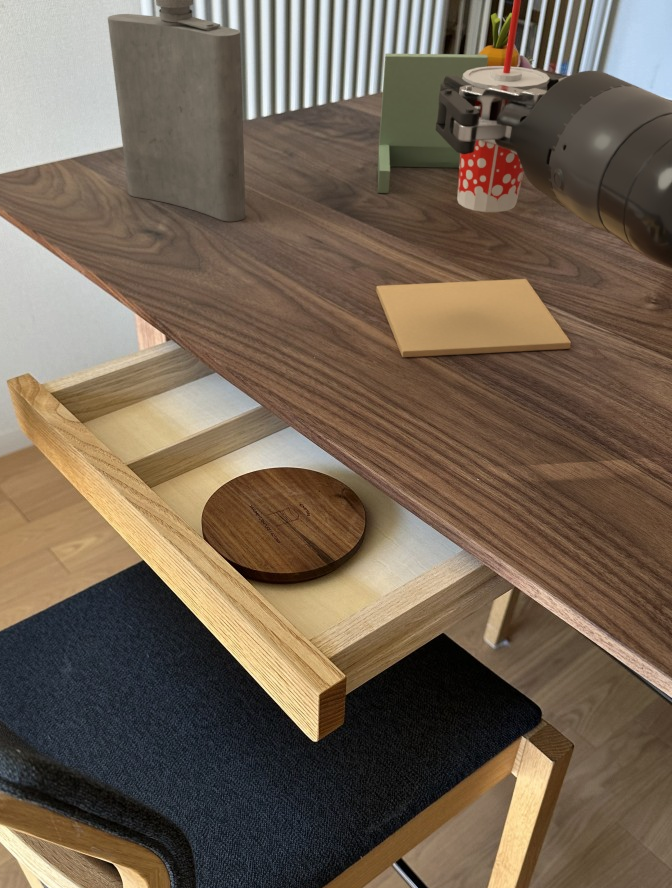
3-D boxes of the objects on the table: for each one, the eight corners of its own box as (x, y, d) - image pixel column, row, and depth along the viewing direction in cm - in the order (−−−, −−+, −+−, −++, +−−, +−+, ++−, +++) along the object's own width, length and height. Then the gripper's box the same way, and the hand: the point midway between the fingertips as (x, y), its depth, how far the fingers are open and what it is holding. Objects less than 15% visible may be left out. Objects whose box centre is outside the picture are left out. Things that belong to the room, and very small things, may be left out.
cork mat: (525, 284, 79) (526, 278, 78) (569, 349, 70) (571, 342, 69) (376, 291, 78) (376, 285, 78) (402, 357, 69) (402, 351, 69)
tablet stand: (471, 164, 103) (487, 54, 95) (479, 195, 96) (497, 78, 88) (377, 163, 104) (385, 53, 96) (377, 193, 97) (386, 76, 89)
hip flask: (122, 193, 97) (97, -12, 84) (146, 183, 100) (125, -18, 86) (234, 223, 90) (225, 5, 77) (256, 211, 93) (251, -2, 79)
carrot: (462, 140, 110) (480, 7, 100) (501, 140, 110) (522, 6, 100) (467, 153, 107) (486, 15, 97) (507, 153, 106) (530, 15, 96)
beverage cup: (526, 191, 69) (564, -12, 60) (525, 218, 64) (565, 3, 55) (450, 185, 70) (475, -15, 61) (444, 212, 65) (470, 0, 56)
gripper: (734, 77, 50) (585, 23, 63) (513, 97, 48) (402, 36, 60) (694, 205, 55) (563, 132, 68) (492, 229, 53) (394, 148, 65)
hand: (488, 87), depth 64 cm, fingers closed on beverage cup, 6 cm apart
